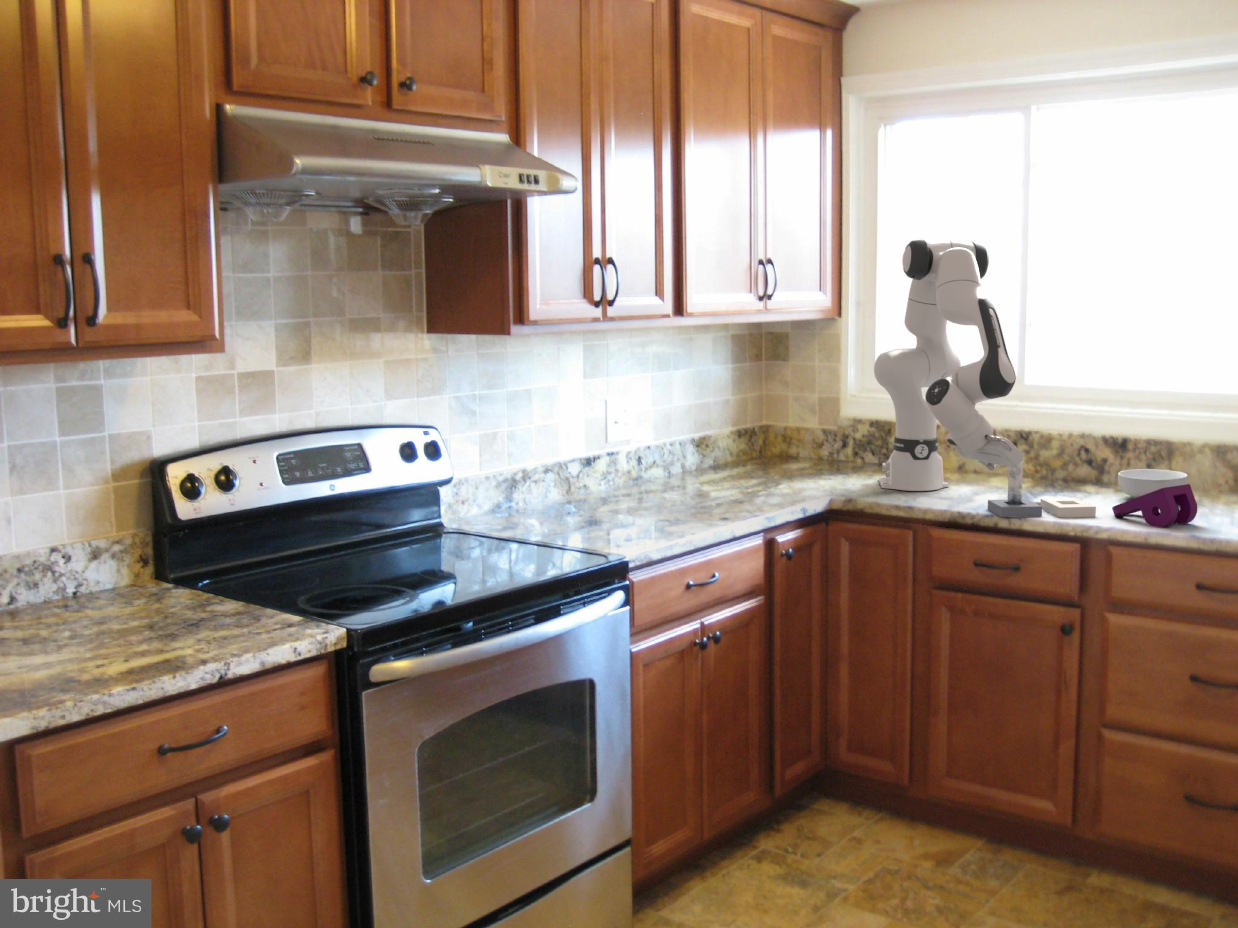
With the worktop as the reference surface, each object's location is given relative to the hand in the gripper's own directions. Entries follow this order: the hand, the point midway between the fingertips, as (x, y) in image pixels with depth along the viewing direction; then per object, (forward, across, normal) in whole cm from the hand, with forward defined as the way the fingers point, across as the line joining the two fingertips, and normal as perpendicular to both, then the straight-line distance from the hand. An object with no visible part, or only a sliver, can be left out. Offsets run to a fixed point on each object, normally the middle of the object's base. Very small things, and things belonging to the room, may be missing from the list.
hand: (1005, 470), depth 298 cm
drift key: (+18, +6, -2) cm, 19 cm away
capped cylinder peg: (+10, 0, +5) cm, 11 cm away
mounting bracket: (+26, -21, -10) cm, 35 cm away
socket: (+10, 0, +5) cm, 11 cm away
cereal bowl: (+41, -2, -25) cm, 48 cm away
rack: (+18, -5, -3) cm, 19 cm away
